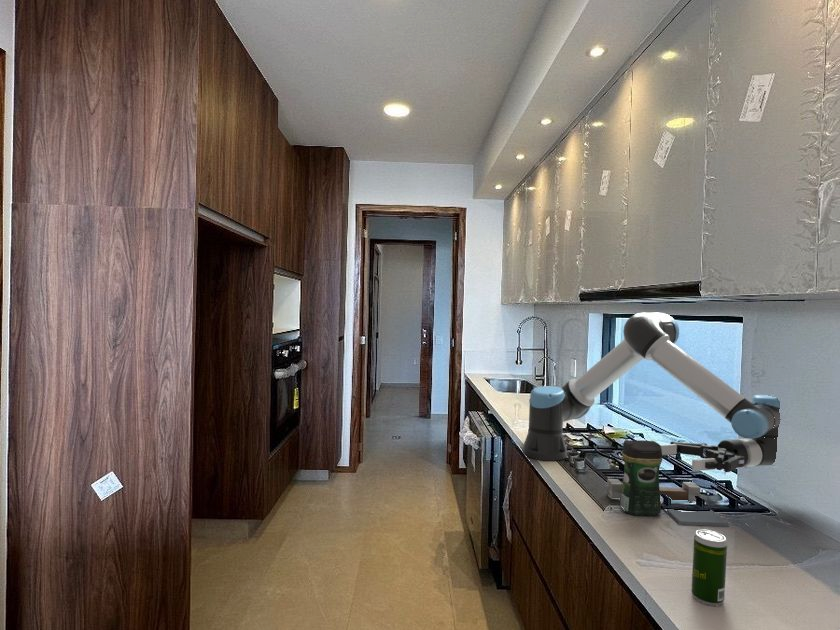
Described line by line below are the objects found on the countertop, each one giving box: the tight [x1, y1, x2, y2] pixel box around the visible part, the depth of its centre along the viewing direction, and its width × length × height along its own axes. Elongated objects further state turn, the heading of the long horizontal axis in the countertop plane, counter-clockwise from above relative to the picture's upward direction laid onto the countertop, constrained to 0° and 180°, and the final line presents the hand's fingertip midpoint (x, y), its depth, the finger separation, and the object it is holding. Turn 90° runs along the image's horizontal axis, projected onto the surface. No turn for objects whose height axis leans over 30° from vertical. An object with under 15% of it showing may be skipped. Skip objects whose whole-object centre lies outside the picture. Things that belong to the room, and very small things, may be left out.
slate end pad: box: [666, 502, 730, 527], centre depth 139 cm, size 13×12×1 cm
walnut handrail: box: [606, 478, 701, 501], centre depth 149 cm, size 4×24×4 cm, turn 88°
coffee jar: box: [619, 439, 663, 517], centre depth 140 cm, size 10×8×19 cm
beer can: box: [690, 529, 728, 607], centre depth 99 cm, size 5×5×12 cm
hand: (673, 457), depth 142 cm, fingers open, 13 cm apart
